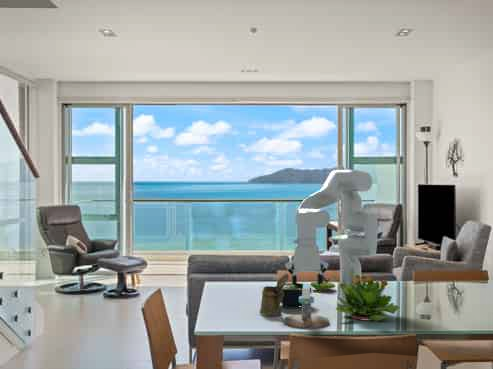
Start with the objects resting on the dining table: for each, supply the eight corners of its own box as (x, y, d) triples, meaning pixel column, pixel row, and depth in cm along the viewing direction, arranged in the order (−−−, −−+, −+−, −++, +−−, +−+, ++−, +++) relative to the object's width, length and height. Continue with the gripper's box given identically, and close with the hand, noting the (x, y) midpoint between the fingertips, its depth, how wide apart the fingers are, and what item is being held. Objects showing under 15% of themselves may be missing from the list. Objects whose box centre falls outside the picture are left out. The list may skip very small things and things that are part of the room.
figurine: (336, 292, 301) (336, 263, 300) (311, 292, 301) (311, 262, 301) (333, 287, 314) (333, 259, 314) (309, 287, 315) (309, 259, 315)
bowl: (314, 303, 276) (314, 281, 276) (307, 311, 260) (307, 288, 260) (278, 301, 281) (278, 279, 281) (269, 308, 264) (269, 286, 264)
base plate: (324, 317, 249) (324, 297, 249) (333, 328, 231) (333, 307, 231) (280, 317, 248) (280, 298, 248) (287, 328, 230) (287, 308, 230)
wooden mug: (280, 319, 246) (280, 275, 246) (255, 314, 255) (255, 271, 254) (293, 315, 253) (293, 272, 252) (268, 310, 261) (268, 269, 261)
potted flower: (346, 326, 233) (346, 281, 233) (321, 313, 256) (321, 272, 256) (403, 322, 240) (403, 278, 240) (374, 309, 263) (374, 269, 263)
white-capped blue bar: (299, 298, 246) (299, 283, 246) (313, 298, 245) (313, 283, 245) (298, 305, 232) (298, 289, 232) (313, 306, 231) (314, 289, 231)
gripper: (286, 243, 235) (286, 287, 235) (330, 242, 236) (330, 286, 237) (283, 241, 242) (284, 283, 243) (326, 240, 243) (326, 282, 244)
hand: (307, 284), depth 240 cm, fingers open, 9 cm apart
